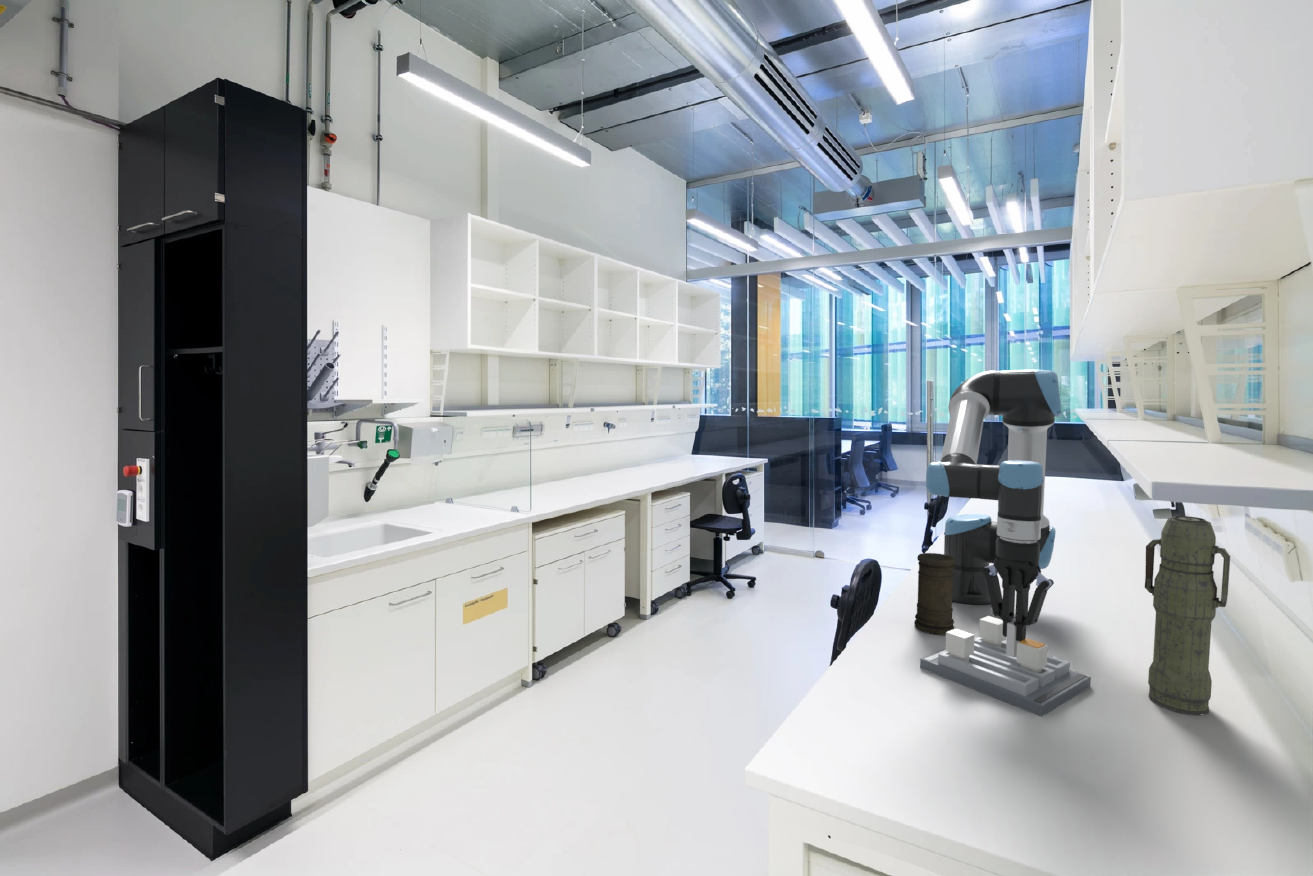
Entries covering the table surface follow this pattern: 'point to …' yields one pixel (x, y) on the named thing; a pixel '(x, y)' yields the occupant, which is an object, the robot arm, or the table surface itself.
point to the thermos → (1184, 613)
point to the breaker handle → (1032, 655)
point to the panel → (1003, 670)
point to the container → (935, 593)
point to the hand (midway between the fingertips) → (1013, 654)
